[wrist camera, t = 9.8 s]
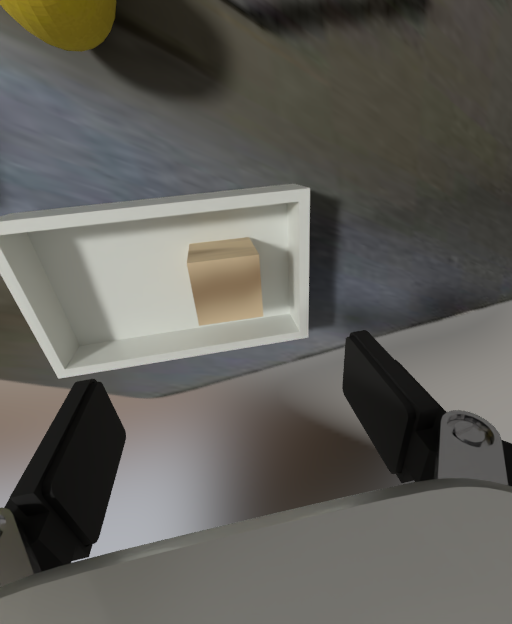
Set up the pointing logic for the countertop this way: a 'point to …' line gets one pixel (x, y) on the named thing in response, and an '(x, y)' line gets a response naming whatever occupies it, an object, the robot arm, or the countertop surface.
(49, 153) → the countertop surface
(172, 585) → the robot arm
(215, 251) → the cube
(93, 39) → the lemon
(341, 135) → the countertop surface
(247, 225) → the tray
